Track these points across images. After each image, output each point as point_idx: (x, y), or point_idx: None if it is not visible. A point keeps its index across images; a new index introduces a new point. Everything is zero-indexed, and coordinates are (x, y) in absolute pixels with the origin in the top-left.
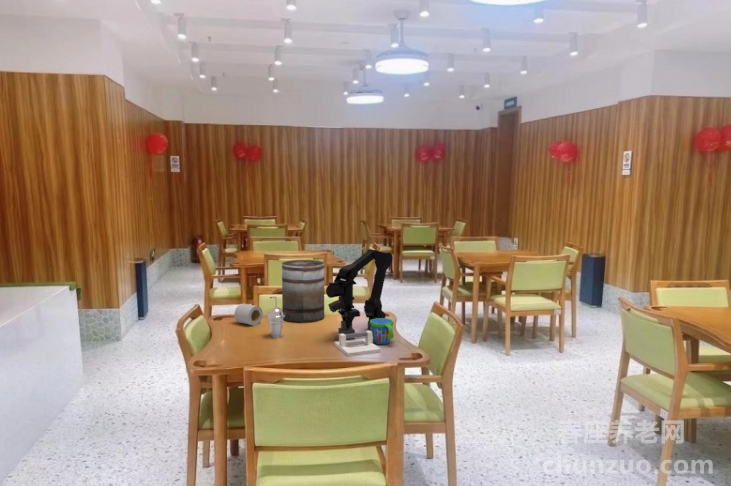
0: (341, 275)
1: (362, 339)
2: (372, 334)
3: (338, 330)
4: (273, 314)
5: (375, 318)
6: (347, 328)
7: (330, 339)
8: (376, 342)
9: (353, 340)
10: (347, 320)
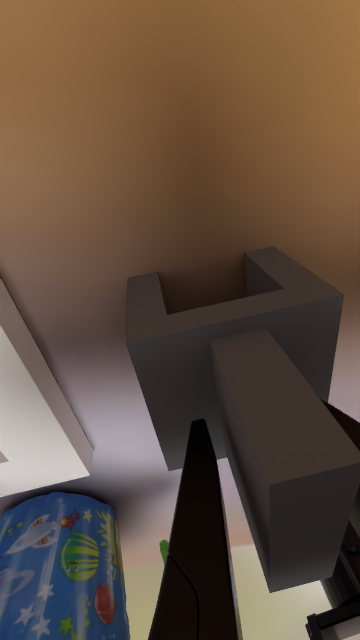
0: None
1: (50, 457)
2: (28, 564)
3: (315, 280)
4: None
5: (346, 619)
6: (193, 424)
7: (222, 121)
8: (2, 517)
9: (6, 393)
10: (166, 634)
